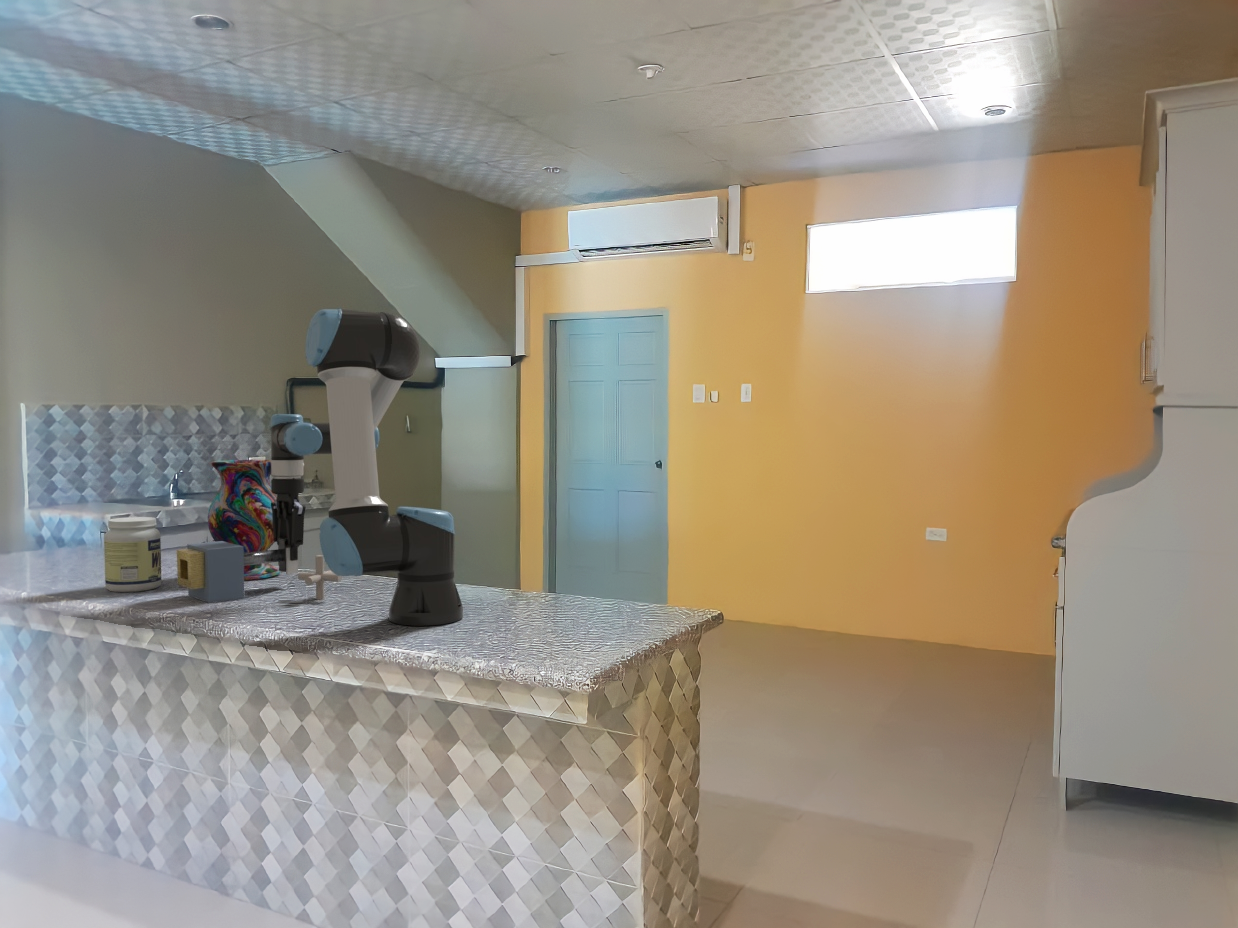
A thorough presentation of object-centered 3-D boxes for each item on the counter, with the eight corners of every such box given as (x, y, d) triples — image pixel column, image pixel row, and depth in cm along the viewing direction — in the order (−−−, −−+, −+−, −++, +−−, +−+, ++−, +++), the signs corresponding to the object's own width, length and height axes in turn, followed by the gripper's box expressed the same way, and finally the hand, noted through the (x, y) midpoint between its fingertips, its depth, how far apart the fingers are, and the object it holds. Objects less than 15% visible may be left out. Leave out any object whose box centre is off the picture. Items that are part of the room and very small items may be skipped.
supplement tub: (159, 591, 223) (158, 520, 222) (101, 594, 219) (99, 522, 218) (163, 582, 234) (162, 515, 233) (108, 585, 230) (107, 517, 229)
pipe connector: (329, 604, 209) (328, 559, 208) (288, 602, 211) (288, 558, 210) (350, 595, 219) (350, 553, 218) (311, 593, 221) (311, 551, 220)
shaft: (296, 570, 229) (296, 538, 229) (200, 582, 213) (200, 547, 212) (290, 569, 231) (290, 537, 231) (195, 580, 215) (195, 546, 214)
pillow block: (244, 597, 215) (243, 546, 215) (209, 602, 210) (208, 549, 209) (222, 590, 224) (221, 540, 223) (188, 595, 218) (187, 544, 217)
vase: (240, 584, 232) (238, 464, 230) (193, 577, 241) (191, 461, 239) (299, 573, 248) (297, 460, 246) (253, 567, 257) (251, 458, 255)
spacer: (205, 587, 211) (204, 552, 210) (191, 589, 209) (190, 553, 208) (191, 582, 217) (190, 548, 216) (177, 584, 214) (176, 549, 214)
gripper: (318, 478, 225) (319, 574, 226) (286, 474, 236) (287, 566, 238) (288, 479, 220) (289, 578, 221) (257, 476, 231) (258, 570, 232)
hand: (288, 572), depth 229 cm, fingers closed on shaft, 3 cm apart
